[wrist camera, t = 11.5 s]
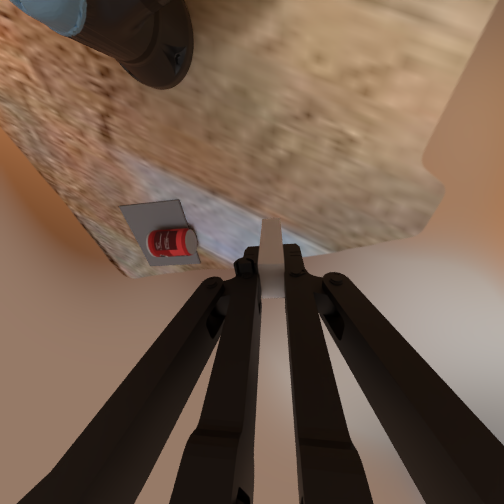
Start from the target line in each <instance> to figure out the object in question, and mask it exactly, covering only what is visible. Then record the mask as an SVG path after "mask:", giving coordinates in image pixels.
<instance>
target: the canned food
mask: <svg viewBox="0 0 504 504" xmlns="http://www.w3.org/2000/svg"><path fill="white" fill-rule="evenodd" d="M146 246H147V249H148V251H149V253H150V254H151V255H152V256H154V257H175V256H191V255H193V254H194V253H195V252H196V249H197V239H196V235H195V233H194V232H193V230H191V229H188V228H184V229H166V230H153V231H150V232H149V233H148V235H147V238H146Z"/></svg>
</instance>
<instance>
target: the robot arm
mask: <svg viewBox="0 0 504 504" xmlns="http://www.w3.org/2000/svg"><path fill="white" fill-rule="evenodd" d="M10 1H11V2H12V3H13V4H14V5H15V6H17V7H18V8H19V9H21V10H22V11H23V12H25V13H26V14H28V15H29V16H31V17H33V18H34V19H36V20H38V21H40V22H42V23H44V24H45V25H47V26H48V27H49V28H50V29H52V30H54V31H55V32H57V33H58V34H60V35H63V36H66V37H69V38H71V39H73V40H75V41H78V42H80V43H82V44H84V45H86V46H89V47H91V48H93V49H95V50H97V51H100V52H102V53H104V54H106V55H109V56H111V57H113V58H115V59H116V60H117V61H118V62H119V63H120V65H121V66H122V67H123V68H124V69H125V70H126V71H127V72H128V73H129V74H130V75H131V76H132V77H133V78H135V79H136V80H137V81H139V82H141V83H143V84H145V85H147V86H150V87H152V88H156V89H169V88H172V87H174V86H176V85H177V84H178V83H180V82H181V80H182V79H183V78H184V77H185V75H186V73H187V71H188V69H189V67H190V63H191V60H192V54H193V31H192V25H191V20H190V16H189V13H188V10H187V7H186V4H185V2H184V0H10ZM234 268H235V273H236V277H234V278H232V279H230V280H226V281H223V280H222V279H221V278H220V277H210V278H207V279H206V280H204V281H203V282H202V283H201V285H200V286H199V287H198V288H197V289H196V291H195V292H194V293H193V295H192V296H191V297H190V298H189V299H188V301H187V302H186V303H185V304H184V306H183V307H182V308H181V310H180V311H179V312H178V313H177V314H176V316H175V317H174V318H173V319H172V321H171V322H170V323H169V324H168V326H167V327H166V328H165V329H164V331H163V332H162V333H161V334H160V336H159V337H158V338H157V339H156V341H155V342H154V343H153V345H152V346H151V347H150V348H149V349H148V351H147V352H146V353H145V354H144V356H143V357H142V358H141V359H140V361H139V362H138V363H137V364H136V366H135V367H134V368H133V369H132V371H131V372H130V373H129V374H128V376H127V377H126V378H125V379H124V381H123V382H122V383H121V384H120V386H119V387H118V388H117V390H116V391H115V392H114V393H113V394H112V396H111V397H110V398H109V399H108V401H107V402H106V403H105V405H104V406H103V407H102V408H101V409H100V411H99V412H98V413H97V415H96V416H95V417H94V418H93V419H92V421H91V422H90V423H89V424H88V426H87V427H86V428H85V429H84V431H83V432H82V433H81V435H80V436H79V437H78V438H77V439H76V441H75V442H74V443H73V444H72V446H71V447H70V448H69V449H68V451H67V452H66V453H65V454H64V456H63V457H62V458H61V459H60V461H59V462H58V463H57V465H56V466H55V467H54V468H53V469H52V471H51V472H50V473H49V474H48V475H47V476H46V477H44V478H43V479H42V480H41V481H40V482H39V483H38V484H37V485H36V486H35V487H34V488H33V489H32V490H31V491H30V492H29V493H27V494H26V495H25V496H24V497H23V498H22V499H21V500H20V501H19V502H18V503H17V504H134V503H135V501H136V499H137V497H138V495H139V493H140V492H141V490H142V488H143V486H144V484H145V483H146V481H147V479H148V477H149V475H150V473H151V471H152V469H153V467H154V465H155V463H156V461H157V459H158V457H159V455H160V453H161V451H162V449H163V447H164V445H165V443H166V441H167V439H168V438H169V435H170V434H171V431H172V430H173V428H174V426H175V424H176V421H177V420H178V418H179V416H180V414H181V412H182V410H183V408H184V406H185V404H186V402H187V400H188V398H189V396H190V394H191V392H192V390H193V388H194V386H195V385H196V383H197V381H198V378H199V377H200V375H201V373H202V371H203V369H204V367H205V365H206V363H207V361H208V359H209V357H210V355H211V353H212V351H213V349H214V347H215V345H216V343H217V341H218V339H219V337H220V341H219V344H218V349H217V352H216V356H215V360H214V364H213V368H212V372H211V376H210V381H209V384H208V388H207V393H206V396H205V400H204V404H203V408H202V412H201V416H200V420H199V423H198V425H197V428H196V429H195V430H194V431H193V433H192V434H191V435H190V437H189V439H188V441H187V443H186V446H185V449H184V452H183V456H182V459H181V463H180V466H179V470H178V473H177V477H176V481H175V484H174V488H173V492H172V495H171V499H170V503H169V504H253V492H254V437H255V436H254V435H255V418H256V401H257V383H258V364H259V347H260V327H261V312H262V303H261V295H262V298H285V309H286V321H287V335H288V347H289V362H290V375H291V388H292V402H293V416H294V430H295V443H296V457H297V475H298V490H299V504H373V500H372V497H371V493H370V489H369V485H368V482H367V478H366V475H365V471H364V468H363V465H362V461H361V459H360V456H359V454H358V451H357V450H356V448H355V447H354V445H353V443H352V441H351V438H350V436H349V432H348V428H347V424H346V420H345V417H344V413H343V409H342V405H341V401H340V397H339V393H338V389H337V385H336V381H335V377H334V374H333V369H332V366H331V361H330V357H329V353H328V349H327V346H326V342H325V338H324V334H323V330H322V326H321V322H320V318H319V314H320V317H321V318H322V320H323V322H324V323H325V325H326V327H327V329H328V331H329V333H330V334H331V336H332V338H333V340H334V341H335V343H336V345H337V347H338V348H339V350H340V352H341V354H342V355H343V357H344V359H345V360H346V363H347V364H348V366H349V368H350V370H351V371H352V373H353V375H354V377H355V378H356V380H357V382H358V384H359V386H360V387H361V389H362V391H363V393H364V394H365V396H366V398H367V400H368V402H369V403H370V405H371V407H372V408H373V410H374V412H375V414H376V416H377V417H378V419H379V421H380V423H381V425H382V426H383V428H384V430H385V432H386V433H387V435H388V436H389V439H390V440H391V442H392V444H393V446H394V448H395V449H396V451H397V452H398V455H399V456H400V458H401V460H402V461H403V463H404V465H405V467H406V469H407V471H408V472H409V474H410V476H411V478H412V479H413V481H414V483H415V485H416V486H417V488H418V490H419V492H420V494H421V495H422V497H423V499H424V501H425V502H426V504H504V446H503V444H502V443H501V442H500V441H499V440H498V439H497V438H496V437H495V436H494V435H493V434H492V433H491V431H490V430H489V429H488V428H487V427H486V426H485V425H484V424H483V423H482V422H481V421H480V420H479V418H478V417H477V416H476V415H475V414H474V413H473V412H472V411H471V410H470V409H469V408H468V407H467V406H466V405H465V403H464V402H463V401H462V400H461V399H460V398H459V397H458V396H457V395H456V394H455V393H454V391H453V390H452V389H451V388H450V387H449V386H448V385H447V384H446V383H445V382H444V381H443V380H442V379H441V378H440V376H439V375H438V374H437V373H436V372H435V371H434V370H433V369H432V368H431V367H430V366H429V365H428V363H427V362H426V361H425V360H424V359H423V358H422V357H421V356H420V355H419V354H418V353H417V352H416V350H415V349H414V348H413V347H412V346H411V345H410V344H409V343H408V342H407V341H406V340H405V339H404V338H403V337H402V335H401V334H400V333H399V332H398V331H397V330H396V329H395V328H394V327H393V326H392V325H391V324H390V322H389V321H388V320H387V319H386V318H385V317H384V316H383V315H382V314H381V313H380V312H379V311H378V309H377V308H376V307H375V306H374V305H373V304H372V303H371V302H370V301H369V300H368V299H367V298H366V297H365V295H364V294H363V293H362V292H361V291H360V290H359V289H358V288H357V287H356V286H355V285H354V284H353V282H352V281H351V280H350V279H349V278H348V277H346V276H345V275H343V274H341V273H337V272H330V273H327V274H325V275H324V276H323V278H322V277H317V276H313V275H311V274H309V273H308V272H307V270H306V269H305V267H304V263H303V259H302V255H301V251H300V247H299V246H298V245H297V244H282V233H281V223H280V218H271V219H263V220H262V229H261V238H260V246H253V247H248V248H247V249H246V250H245V252H244V256H243V258H240V259H238V260H236V261H235V262H234ZM318 313H319V314H318ZM220 335H221V336H220Z"/></svg>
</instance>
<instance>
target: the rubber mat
mask: <svg viewBox="0 0 504 504" xmlns="http://www.w3.org/2000/svg"><path fill="white" fill-rule="evenodd" d="M119 208H120V210H121V212H122V213H123V215H124V217H125V219H126V221H127V223H128V225H129V227H130V229H131V230H132V232H133V234H134V236H135V238H136V240H137V242H138V244H139V246H140V247H141V249H142V251H143V253H144V255H145V257H146V259H147V261H148V263H149V265H150V266H163V265H182V264H200V263H201V262H200V259H199V256H198V253H197V250H196V252H195V253H194V254H193V255H191V256H175V257H154V256H152V255H151V254H150V253H149V251H148V249H147V246H146V238H147V235H148V233H149V232H150V231H153V230H166V229H184V228H188V229H189V227H188V224H187V221H186V218H185V215H184V212H183V209H182V206H181V203H180V200H170V201H161V202H152V203H142V204H133V205H124V206H119Z"/></svg>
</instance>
